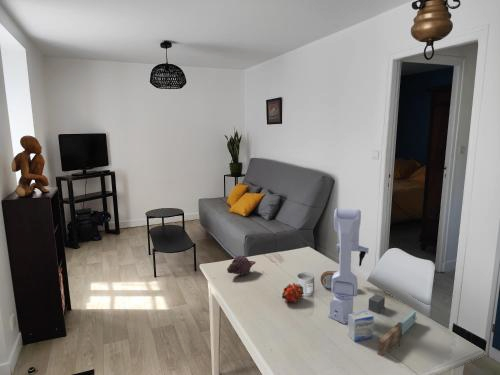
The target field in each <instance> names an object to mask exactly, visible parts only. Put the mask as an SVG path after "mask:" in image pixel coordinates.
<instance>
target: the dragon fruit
mask: <svg viewBox="0 0 500 375" xmlns="http://www.w3.org/2000/svg"><path fill="white" fill-rule="evenodd" d="M303 298H304V287H303V286H302V285H301V284H300V283H299V284H296V283H294V282H292V284H290V283H289V284H288V285H287V286H285V287H284V288H283V292H282V294H281V299H282V300H284V302H285V303H291V302H292V303H294V304H297V303H298V302H299V300H304V299H303Z"/></svg>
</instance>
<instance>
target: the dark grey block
mask: <svg viewBox="0 0 500 375" xmlns="http://www.w3.org/2000/svg"><path fill="white" fill-rule="evenodd" d="M385 298H386V297H385V296H382V295H380V294H376V293H375V294H374V295H372V296H371V297H370V298H368V308H367V309H368V310H369V311H371V312H373V313H375V314H379V313H380V312H381V311H382V310H384V309H385V301H386V300H385ZM368 310H367V311H368Z"/></svg>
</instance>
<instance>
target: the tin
mask: <svg viewBox="0 0 500 375" xmlns="http://www.w3.org/2000/svg"><path fill="white" fill-rule="evenodd" d="M337 271H338V270H337ZM337 271H336V270H327V271H324V272H322V274H321V275H320V283H321V285H322V286H323V288H325V289H329V290H331V284H332V277H333V275H334V273H336V272H337Z"/></svg>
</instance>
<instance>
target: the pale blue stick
mask: <svg viewBox="0 0 500 375" xmlns="http://www.w3.org/2000/svg"><path fill="white" fill-rule="evenodd" d="M416 320H417V321H418V316H417V311H416V310H412V311H411V312H410V313H409V314H408V315H406V316H405V318H403V319H402V320H401V321H399V322H400V323H402V335H404V333H406V332H407V331H408V330H409V329H410V328H411V327H412V326H413V325H414V324H415V323H416Z"/></svg>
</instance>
